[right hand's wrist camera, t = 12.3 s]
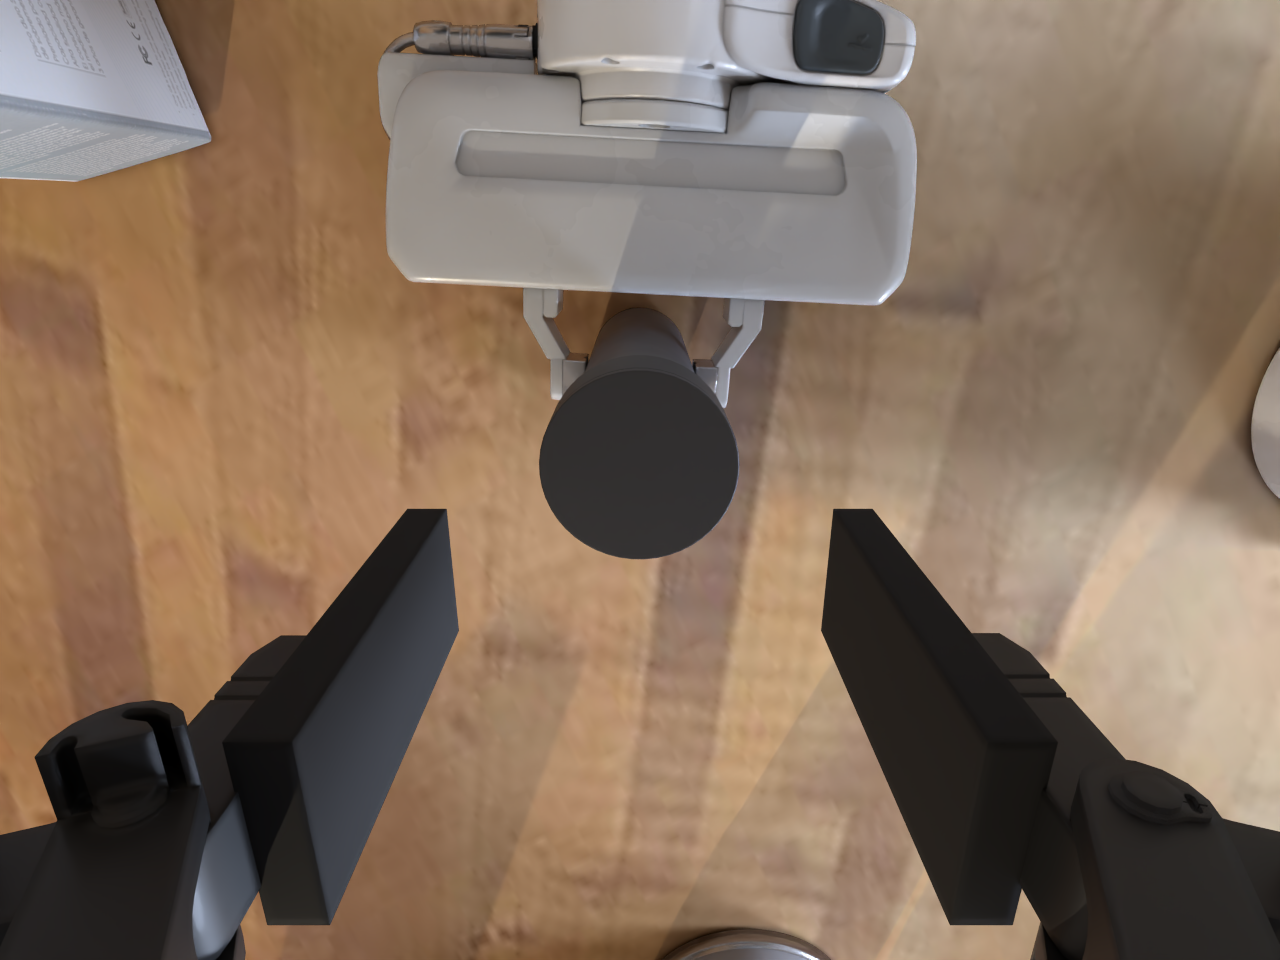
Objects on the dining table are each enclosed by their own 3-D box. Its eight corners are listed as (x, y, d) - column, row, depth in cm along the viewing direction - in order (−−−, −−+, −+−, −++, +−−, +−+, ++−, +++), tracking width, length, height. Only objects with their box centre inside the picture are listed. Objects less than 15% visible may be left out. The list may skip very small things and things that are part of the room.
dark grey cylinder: (702, 341, 37) (754, 444, 20) (651, 414, 38) (659, 566, 21) (627, 288, 36) (616, 350, 19) (577, 365, 37) (527, 484, 21)
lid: (766, 422, 22) (780, 445, 20) (661, 558, 23) (663, 593, 21) (614, 317, 21) (611, 328, 19) (515, 466, 22) (501, 493, 20)
